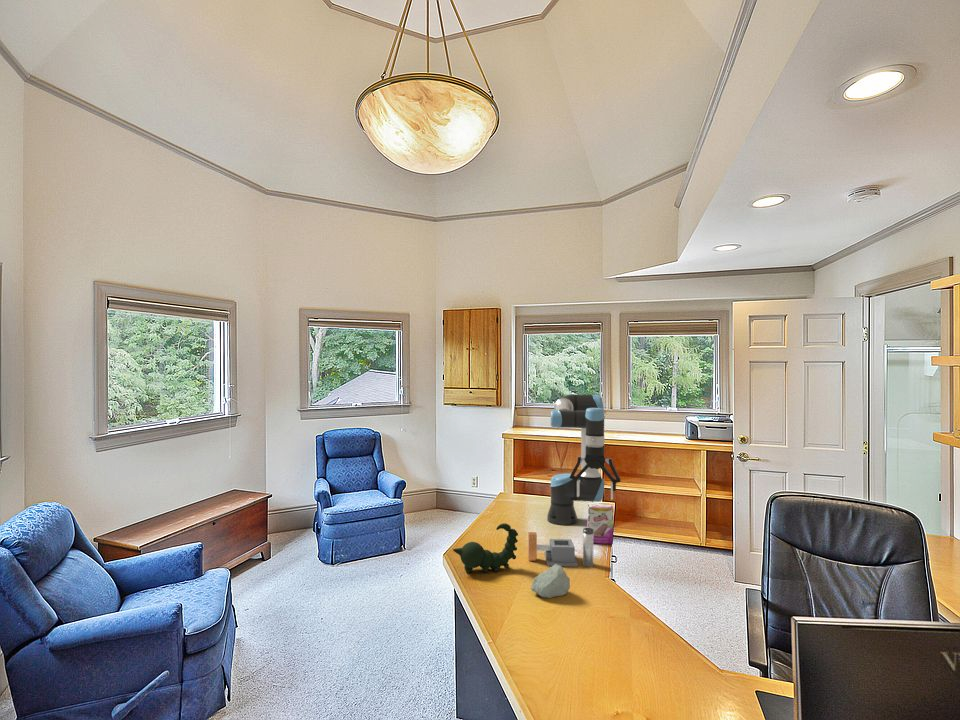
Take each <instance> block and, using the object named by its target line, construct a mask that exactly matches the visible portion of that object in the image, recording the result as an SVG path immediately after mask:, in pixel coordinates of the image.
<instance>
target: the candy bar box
mask: <svg viewBox="0 0 960 720" xmlns="http://www.w3.org/2000/svg"><path fill="white" fill-rule="evenodd" d="M614 509H615V508H614V507H613V505H612V504H592V503H591V504H590V503H588V504H587V513H586V515H587V516H586V517H587V518H586V519H587V521H586V523H587V525H586V528H591V529H593V530H594V533H593V544H598V545H599V544H600V545H614Z"/></svg>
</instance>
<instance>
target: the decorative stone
mask: <svg viewBox="0 0 960 720" xmlns="http://www.w3.org/2000/svg"><path fill="white" fill-rule="evenodd" d="M570 581H571V580H570V577H569V576H568V575H567V573H566V571H565V570H564V568H563V566H560V565H557V564H555V565H553V566H550V567H549V568H548V569H546V570H545V571H542V572H540V573H539V574H537V576H535V578H533V580H532V582H531V585H530V589H531V591H532V592H534V593H535V594H537V595H538V596H540V597H541V598H548V599H551V598H555V597H562V596H565V595H567V593H568V591H569V590H570V588H571V585H570Z"/></svg>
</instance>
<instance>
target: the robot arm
mask: <svg viewBox="0 0 960 720" xmlns="http://www.w3.org/2000/svg"><path fill="white" fill-rule="evenodd" d="M605 418H606V416H605V407H604V401H603V398H602V396H601V395H599V394H577V393H576V394H572V393H571V394H567V395H563V396H561V397H559V398H558V399H556V401H555V403H554V405H553V410H551V411H550V427H551V428H557V429H559V428H564V429H565V428H566V429H567V428H568V429H569V428H571V429H573V428H574V429H580V435H581V436H580V440H581V441H580V442H581V443H580V453H581V454H580V455H579V456H578V457H577V461H576V462H577V463H576V464H575V466H574V468H573V470H572V472H571V473H558V474H555V475H553V476H552V477H551V479H550V485H549V486H550V507H549V509H548V512H547V515H546V516H547V517H546V519H547V520H546V521H548V522H549V523H550V524H553V525H554V524H555V525H560V526H562V525H563V526H570V525H574V524H576V523H577V522H578V515H577V512H576V510H575V505H574V502H575V501H576V502H588V503H589V502H590V503H597V502H598V503H599V502H600V503H601V501H603V497H604V492H605V479H604V478H603V477H602V474H601V473H600V472H599V469H600V470H602V472H604V474H605V475H606V476H607V477H608V479H609V480H610V481H611V482H610V500H611V501H613V499H614V492H616V491H617V483H621V480H622V479H621V477H620V475H619V474H618V471H617V469H616V466H615V465H614V462H613V458H612V457H609V458H605V446H604V445H605ZM605 463H606V464H607V465H609V467H610V470H611V471H612V473H613V475H614V476H613V475H612V473H611V472H610V471H609V470H608V469H607V467H606V466H605V465H604V464H605ZM579 467H580V471H579V472H578V473H577V474H576V472H577V470H578V468H579ZM575 474H576V475H575Z"/></svg>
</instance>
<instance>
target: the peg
mask: <svg viewBox="0 0 960 720" xmlns="http://www.w3.org/2000/svg"><path fill="white" fill-rule="evenodd" d="M593 533H594V530H593V529H591V528H587V527H584V528H582V534H583V536H582V537H583V538H582V539H583V540H582V542H583V543H582V548H583V549H582V566H584V567H588V568H590V567H593V566H594V543H593Z"/></svg>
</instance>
